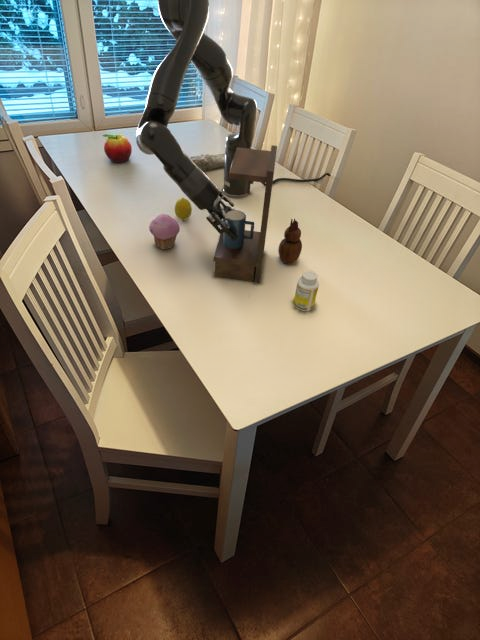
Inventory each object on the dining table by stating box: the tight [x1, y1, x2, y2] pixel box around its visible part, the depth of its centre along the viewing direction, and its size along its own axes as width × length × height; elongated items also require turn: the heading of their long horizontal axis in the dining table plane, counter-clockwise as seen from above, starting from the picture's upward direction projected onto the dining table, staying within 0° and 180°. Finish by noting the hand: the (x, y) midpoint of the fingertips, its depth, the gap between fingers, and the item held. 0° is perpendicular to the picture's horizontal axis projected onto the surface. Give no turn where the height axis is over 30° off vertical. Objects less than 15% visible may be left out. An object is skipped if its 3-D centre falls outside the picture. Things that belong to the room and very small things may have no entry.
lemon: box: [174, 197, 193, 221], centre depth 145 cm, size 6×6×8 cm
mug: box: [223, 209, 255, 249], centre depth 123 cm, size 8×6×9 cm
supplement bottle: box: [293, 270, 320, 312], centre depth 115 cm, size 6×6×10 cm
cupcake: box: [148, 213, 181, 250], centre depth 132 cm, size 9×9×10 cm
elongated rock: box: [189, 153, 225, 173], centre depth 179 cm, size 35×5×10 cm
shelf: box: [212, 145, 278, 284], centre depth 120 cm, size 14×16×33 cm
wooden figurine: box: [277, 217, 303, 265], centre depth 129 cm, size 7×6×15 cm
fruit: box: [102, 133, 133, 163], centre depth 175 cm, size 11×11×10 cm
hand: (238, 230), depth 123 cm, fingers open, 8 cm apart
